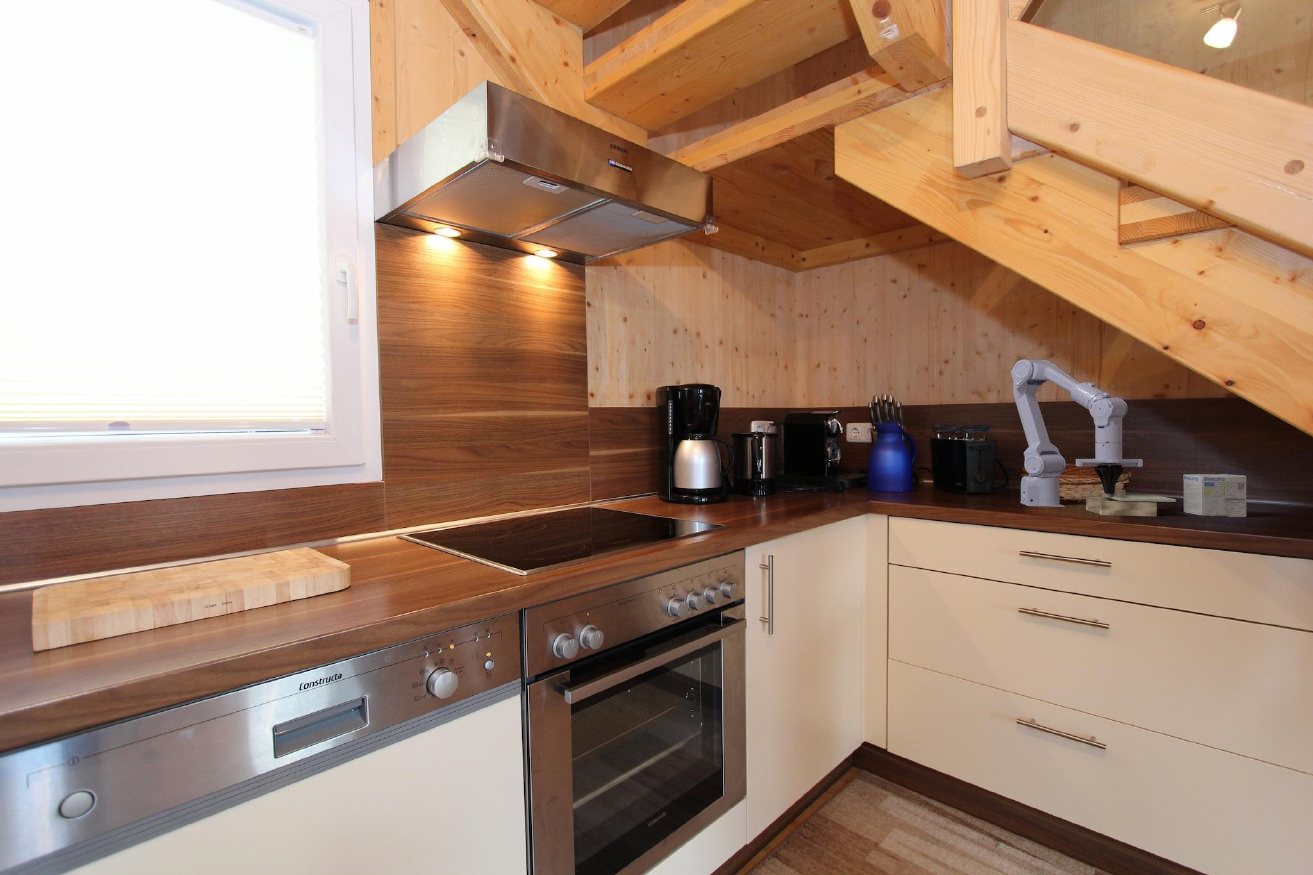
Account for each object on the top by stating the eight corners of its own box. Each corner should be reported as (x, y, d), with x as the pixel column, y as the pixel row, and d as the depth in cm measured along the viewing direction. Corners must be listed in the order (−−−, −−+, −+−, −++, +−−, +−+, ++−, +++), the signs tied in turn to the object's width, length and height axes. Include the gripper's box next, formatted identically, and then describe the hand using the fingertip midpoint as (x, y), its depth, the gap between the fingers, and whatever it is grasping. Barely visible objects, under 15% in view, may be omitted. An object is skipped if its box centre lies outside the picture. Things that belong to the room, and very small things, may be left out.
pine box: (1101, 516, 155) (1101, 501, 154) (1086, 511, 164) (1086, 497, 164) (1156, 518, 151) (1156, 502, 151) (1137, 512, 161) (1137, 498, 161)
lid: (1120, 500, 153) (1120, 490, 153) (1103, 496, 163) (1103, 486, 163) (1175, 501, 150) (1175, 491, 150) (1155, 497, 159) (1155, 487, 159)
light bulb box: (1225, 513, 157) (1225, 473, 157) (1248, 517, 150) (1248, 475, 150) (1181, 513, 158) (1181, 473, 158) (1202, 517, 151) (1202, 475, 151)
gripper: (1082, 443, 156) (1083, 494, 156) (1148, 443, 152) (1148, 495, 152) (1072, 442, 163) (1072, 491, 163) (1135, 442, 159) (1135, 492, 159)
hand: (1108, 493), depth 158 cm, fingers closed
